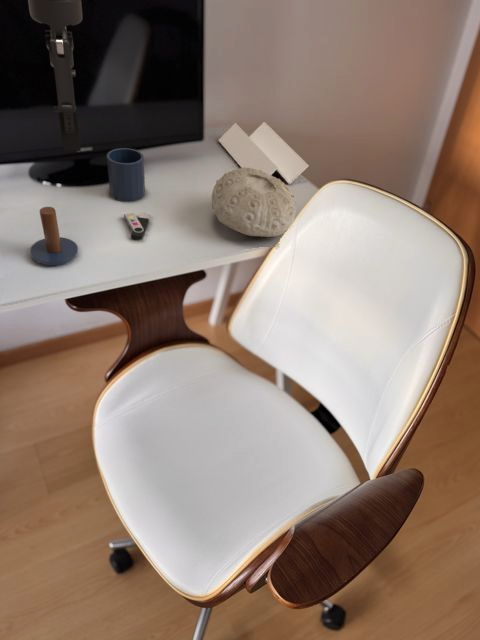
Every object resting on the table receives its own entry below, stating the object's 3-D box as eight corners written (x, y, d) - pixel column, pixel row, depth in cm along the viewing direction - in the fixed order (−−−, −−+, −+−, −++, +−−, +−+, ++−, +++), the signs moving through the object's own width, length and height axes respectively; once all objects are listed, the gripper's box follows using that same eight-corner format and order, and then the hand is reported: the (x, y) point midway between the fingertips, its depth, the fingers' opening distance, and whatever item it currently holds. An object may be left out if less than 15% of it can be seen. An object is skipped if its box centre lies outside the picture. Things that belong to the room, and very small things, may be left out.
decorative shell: (261, 190, 124) (273, 151, 117) (304, 241, 117) (320, 203, 109) (193, 201, 115) (201, 160, 108) (235, 257, 108) (247, 217, 100)
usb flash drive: (142, 240, 107) (142, 236, 106) (115, 236, 107) (115, 232, 106) (151, 217, 113) (150, 213, 112) (125, 214, 113) (125, 210, 112)
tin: (111, 202, 116) (108, 164, 110) (109, 185, 121) (105, 148, 115) (146, 201, 118) (145, 163, 112) (142, 184, 123) (141, 147, 117)
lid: (30, 269, 97) (20, 224, 90) (32, 243, 102) (22, 199, 96) (79, 266, 99) (72, 222, 93) (77, 241, 104) (71, 197, 98)
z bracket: (271, 201, 132) (257, 186, 127) (232, 155, 148) (218, 140, 143) (308, 165, 130) (296, 148, 125) (264, 122, 145) (251, 106, 140)
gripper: (85, 15, 73) (98, 165, 87) (76, -28, 89) (88, 104, 104) (24, 11, 71) (48, 166, 85) (27, -32, 87) (46, 104, 102)
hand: (70, 132), depth 95 cm, fingers open, 13 cm apart
